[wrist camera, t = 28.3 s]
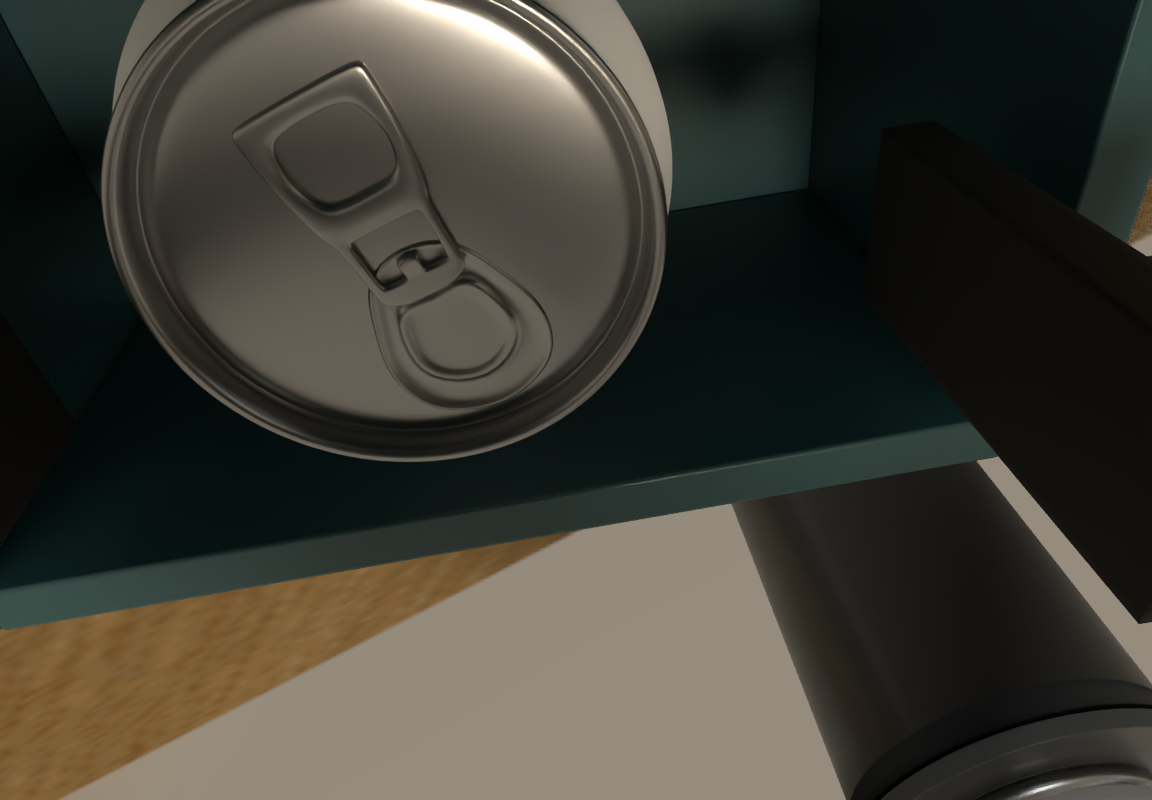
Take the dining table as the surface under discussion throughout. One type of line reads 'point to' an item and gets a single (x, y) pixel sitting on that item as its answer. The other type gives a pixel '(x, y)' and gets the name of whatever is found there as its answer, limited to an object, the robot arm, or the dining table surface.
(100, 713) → the dining table surface
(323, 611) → the dining table surface
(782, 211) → the cooler
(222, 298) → the can
